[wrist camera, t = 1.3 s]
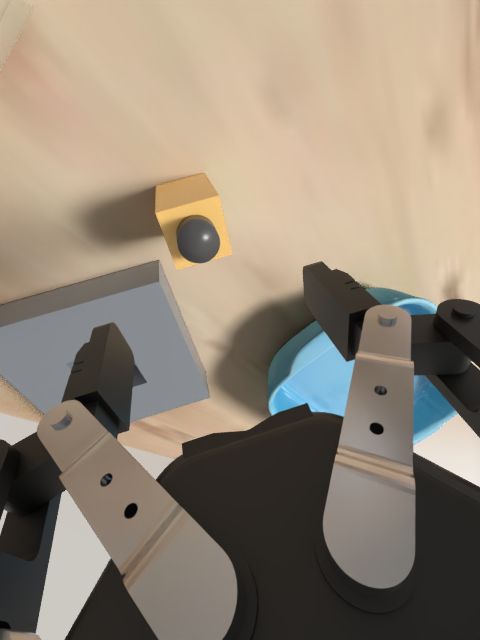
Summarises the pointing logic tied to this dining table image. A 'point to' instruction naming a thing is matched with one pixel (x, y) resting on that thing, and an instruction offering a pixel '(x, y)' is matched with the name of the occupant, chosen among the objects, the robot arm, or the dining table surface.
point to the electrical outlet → (12, 24)
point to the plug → (192, 220)
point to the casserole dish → (346, 373)
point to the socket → (76, 328)
